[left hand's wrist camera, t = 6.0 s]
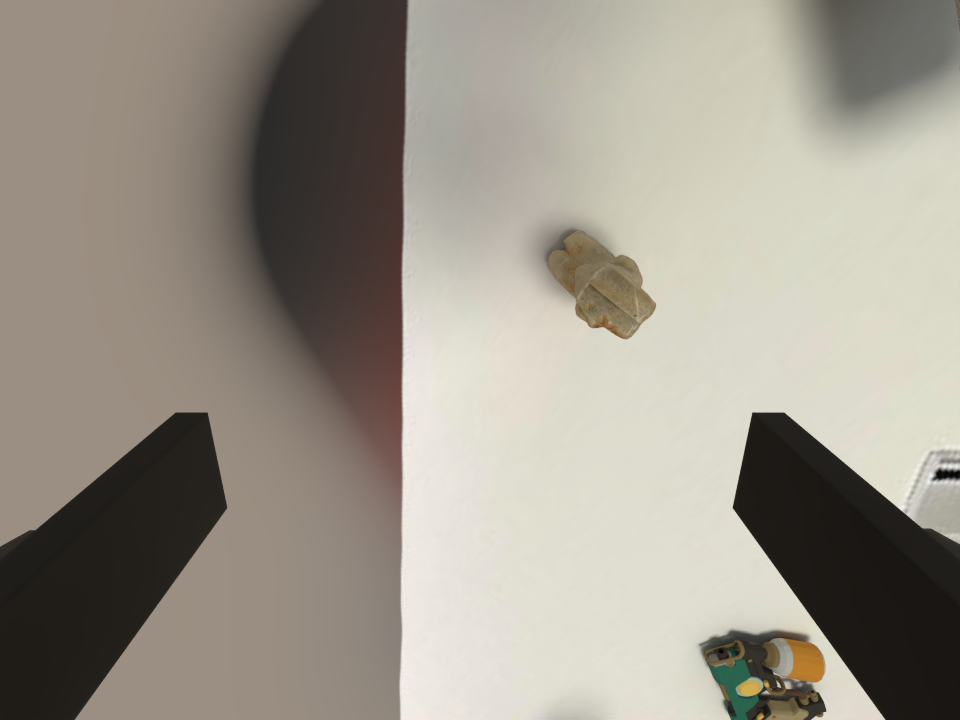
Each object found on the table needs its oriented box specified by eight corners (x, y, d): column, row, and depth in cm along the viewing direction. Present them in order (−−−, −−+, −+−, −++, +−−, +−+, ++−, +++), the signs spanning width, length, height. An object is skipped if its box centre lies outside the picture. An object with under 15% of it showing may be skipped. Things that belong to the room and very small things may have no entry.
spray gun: (811, 707, 71) (697, 714, 72) (826, 621, 64) (699, 631, 65) (829, 741, 67) (708, 748, 68) (848, 653, 60) (712, 663, 61)
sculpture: (581, 216, 47) (624, 242, 33) (635, 271, 49) (697, 317, 35) (535, 264, 49) (557, 307, 35) (588, 315, 50) (630, 376, 36)
